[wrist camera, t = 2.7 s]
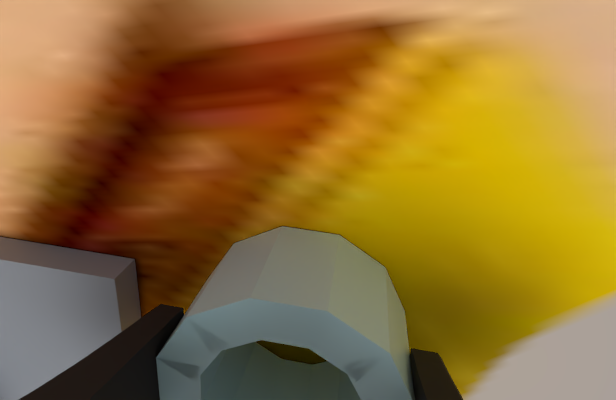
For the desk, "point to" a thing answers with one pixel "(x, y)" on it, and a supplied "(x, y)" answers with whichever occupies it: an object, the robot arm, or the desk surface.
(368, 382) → the flange ring
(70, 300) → the post base
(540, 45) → the desk surface
